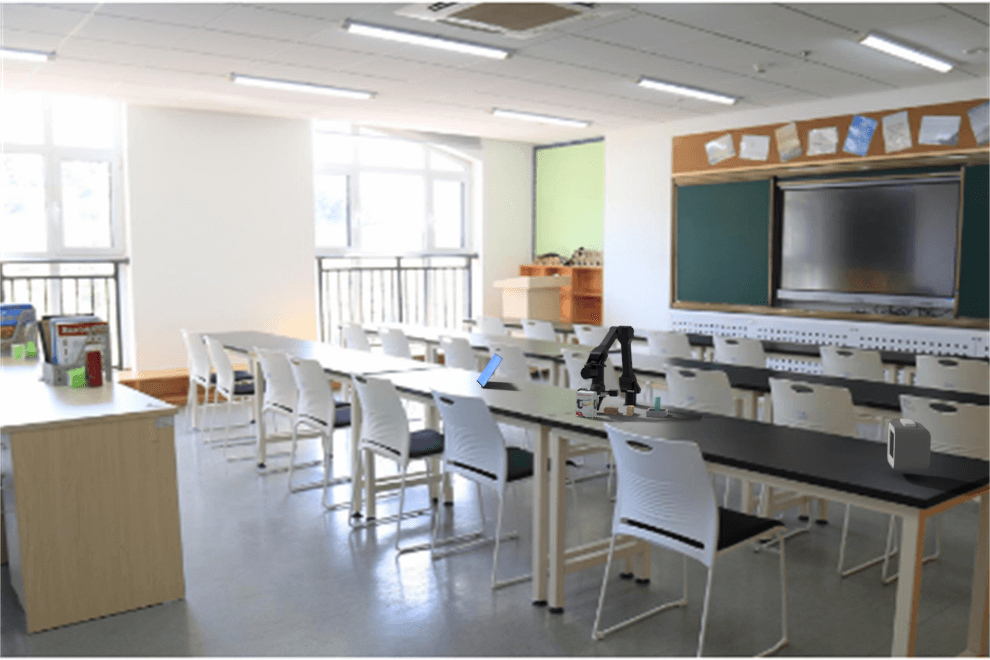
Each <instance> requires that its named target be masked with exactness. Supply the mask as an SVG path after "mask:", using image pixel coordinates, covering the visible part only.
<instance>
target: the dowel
mask: <svg viewBox="0 0 990 660" xmlns="http://www.w3.org/2000/svg"><path fill="white" fill-rule="evenodd" d="M653 405H654V406H653V408H654V411H660V408H661V396H654V400H653Z"/></svg>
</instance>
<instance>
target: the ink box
mask: <svg viewBox="0 0 990 660" xmlns="http://www.w3.org/2000/svg"><path fill="white" fill-rule="evenodd" d="M597 413H598V412H597V392H594V391H578V392H577V391H576V392H575V416H576V415H578V416H586V417H595V416H596V417H597ZM596 417H595V418H596Z"/></svg>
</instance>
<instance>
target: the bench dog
mask: <svg viewBox="0 0 990 660" xmlns="http://www.w3.org/2000/svg"><path fill="white" fill-rule="evenodd" d="M625 412H626V414H625V416H627V417H632V416H633V415H634V414H635V406H627V407H626V411H625Z"/></svg>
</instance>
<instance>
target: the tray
mask: <svg viewBox="0 0 990 660" xmlns="http://www.w3.org/2000/svg"><path fill="white" fill-rule="evenodd" d="M668 415H669V409H668V408H663V409H660V411H654V407H648V409H646V410H645V416H646V418H647V417H648V418H665V419H666V418H667V417H668Z"/></svg>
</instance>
